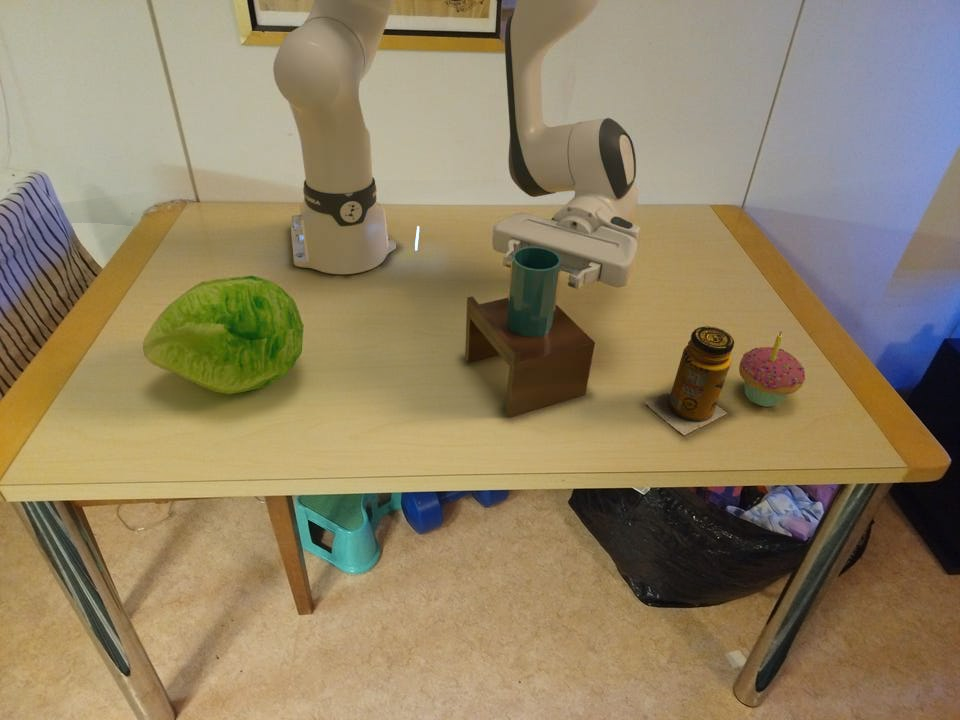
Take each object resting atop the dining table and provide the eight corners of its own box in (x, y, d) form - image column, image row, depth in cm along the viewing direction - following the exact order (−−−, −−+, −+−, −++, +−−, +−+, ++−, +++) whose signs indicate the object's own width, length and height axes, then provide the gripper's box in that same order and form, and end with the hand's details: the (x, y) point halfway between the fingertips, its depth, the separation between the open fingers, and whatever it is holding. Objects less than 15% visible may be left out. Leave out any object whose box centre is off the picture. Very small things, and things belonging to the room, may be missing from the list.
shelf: (464, 358, 97) (467, 297, 90) (535, 339, 101) (542, 280, 95) (509, 417, 87) (515, 353, 80) (585, 394, 91) (597, 332, 85)
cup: (498, 316, 89) (503, 251, 83) (538, 307, 92) (545, 243, 86) (520, 341, 85) (527, 274, 79) (561, 331, 87) (570, 265, 81)
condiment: (727, 414, 89) (753, 342, 82) (683, 436, 85) (707, 364, 78) (686, 384, 94) (707, 314, 87) (644, 404, 90) (662, 333, 83)
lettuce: (184, 361, 97) (150, 266, 89) (321, 345, 98) (300, 250, 90) (148, 429, 83) (103, 324, 75) (309, 410, 84) (282, 304, 76)
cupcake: (773, 424, 88) (804, 353, 81) (718, 392, 93) (742, 322, 86) (804, 398, 93) (836, 328, 85) (750, 369, 97) (776, 300, 90)
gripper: (518, 194, 97) (471, 230, 87) (651, 229, 90) (617, 272, 80) (514, 233, 101) (470, 271, 91) (643, 270, 93) (609, 316, 84)
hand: (540, 272), depth 85 cm, fingers open, 8 cm apart
